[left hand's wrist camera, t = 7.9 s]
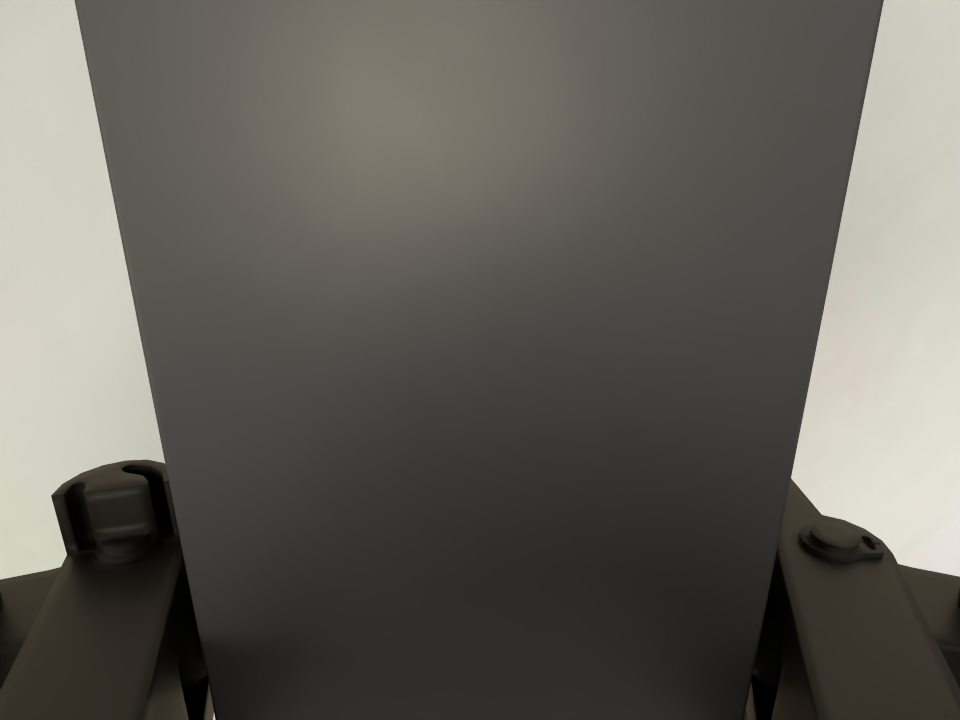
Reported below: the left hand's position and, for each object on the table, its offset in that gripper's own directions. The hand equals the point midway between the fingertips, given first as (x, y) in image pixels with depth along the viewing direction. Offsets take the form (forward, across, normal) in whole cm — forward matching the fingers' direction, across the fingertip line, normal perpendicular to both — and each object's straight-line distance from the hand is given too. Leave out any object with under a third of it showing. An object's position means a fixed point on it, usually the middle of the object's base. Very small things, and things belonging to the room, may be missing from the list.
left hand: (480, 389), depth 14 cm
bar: (0, 0, -8) cm, 8 cm away
